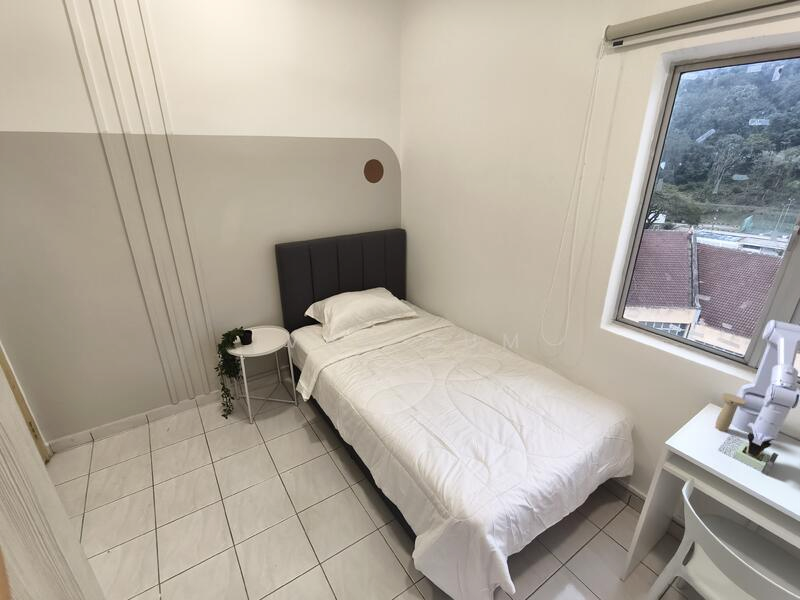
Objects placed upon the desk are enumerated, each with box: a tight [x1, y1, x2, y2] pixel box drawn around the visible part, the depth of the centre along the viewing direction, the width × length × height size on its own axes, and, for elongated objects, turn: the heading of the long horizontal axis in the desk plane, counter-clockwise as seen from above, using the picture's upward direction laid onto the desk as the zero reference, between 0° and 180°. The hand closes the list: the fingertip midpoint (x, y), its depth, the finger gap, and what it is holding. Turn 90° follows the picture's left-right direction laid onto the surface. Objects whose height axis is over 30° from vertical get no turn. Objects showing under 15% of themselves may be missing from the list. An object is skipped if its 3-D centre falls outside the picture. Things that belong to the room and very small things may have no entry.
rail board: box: [717, 434, 779, 476], centre depth 127 cm, size 14×13×5 cm
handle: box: [714, 392, 746, 433], centre depth 136 cm, size 5×6×15 cm
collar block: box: [732, 442, 772, 472], centre depth 124 cm, size 7×7×2 cm
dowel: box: [744, 446, 765, 461], centre depth 123 cm, size 4×4×7 cm
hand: (754, 451), depth 124 cm, fingers closed on dowel, 4 cm apart
